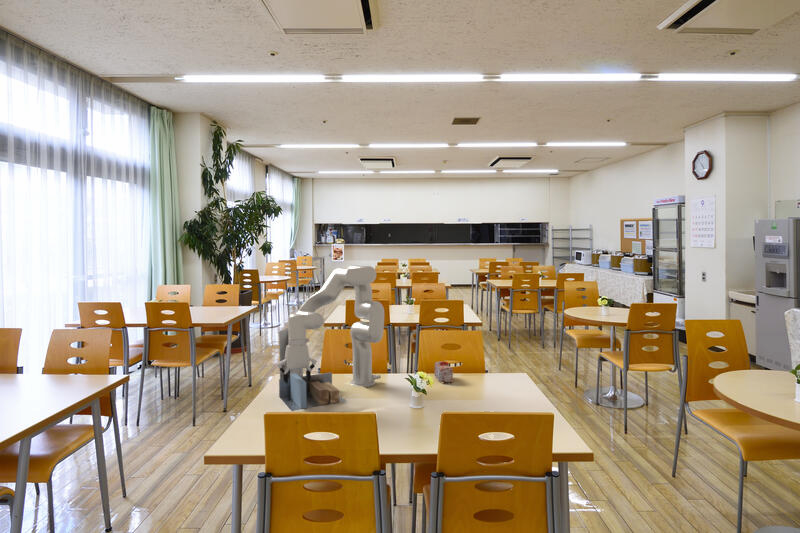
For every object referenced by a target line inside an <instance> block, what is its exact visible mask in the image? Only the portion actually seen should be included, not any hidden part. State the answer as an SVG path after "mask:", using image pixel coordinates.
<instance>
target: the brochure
mask: <svg viewBox="0 0 800 533" xmlns="http://www.w3.org/2000/svg"><path fill="white" fill-rule="evenodd" d="M278 342H279V343H278V344H279V346H278V348H279V351H278V352H279V362H281V361H283V360H284V359H285V351H286V346H287V345H288V327H287V328H284V329H281V330H279V331H278ZM281 367H282V368H283V369H284V368H285V365H284V364H283V365H282V366H281ZM293 373H296V374H297V375H299V376H300V377H301V376H304V368H299V369H290V370H289V371H288V372H287V374H288V378H290V374H293ZM279 379H283V372H282V371H280V370H279Z"/></svg>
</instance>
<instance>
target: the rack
mask: <svg viewBox="0 0 800 533" xmlns="http://www.w3.org/2000/svg"><path fill="white" fill-rule="evenodd" d="M301 378H302V379H303V380H304V381H306V406H307V408H300V407H299V406H298V405H297V404H296V403H295V402H294V401H293V400H292V399H291V378H288V383H285V382H284V381H283V379H280V378H278V397H279V398H280V400H282V402H283V403H284V405H286V407H287V408H288V409H289V410H290V411H291V412H293V411H300V410H305V409H306V410H307V409H312V408H317V407H323V406H331V405H334V404H340V403H346V402H348V400H346V399H345V398H344V397H342V396H341V395H340V394H339V401H338V402H332V403H331V402H330V401H329V403H326V404H319V403H318V402H317V401H316V400H315V399H313V398H312V397H311V396H310V383H311V382H320V383H326V382H329V383H331V384H332V385H333V372H325V373H317V374H311V378H310V380H309V381H308V380H307V379H306V375H303V376H301Z"/></svg>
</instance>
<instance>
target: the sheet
mask: <svg viewBox="0 0 800 533" xmlns="http://www.w3.org/2000/svg"><path fill="white" fill-rule="evenodd" d="M290 378H291V399H292V400H293V401H294V402H295V403H296V404H297V405H298V406H299V407H300V408H306V409H308V408H307V406H306V381H304V380H303V379H302V378H301V377H300V376H299V375H297V374H296V373H293V374H290Z"/></svg>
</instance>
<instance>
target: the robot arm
mask: <svg viewBox="0 0 800 533" xmlns="http://www.w3.org/2000/svg"><path fill="white" fill-rule="evenodd" d="M376 279H377V270H376V269H375V268H374V267H373V266H371V265H350V266H348V267H338V268H335V269H334V270H333V271H332V272H331V273H330V275H329V277H328V278H327V280H326V281H325V283H324V284H323V285H322V287H321V288H320V290H318V291H317V292H315V294H313V295H311V296H310V297H309V298H307V299H306V300H305V301H304V302H303V303H302V305H301V306H300V307H299V309H298V310H297V312H296V313H291V314H289V315H288V324H287V325H288V327H287V328H288V345H287V346H286V351H285V359H284V360H283V361H281V362H280V361H279V362H278V363H277V364H276V366H277V369H278V370H279V372H280V371H282V372H283V381H284V382H285V383H288V374H287V372H288V371H289V370H290V369H299V368H303V369H306V370H305V376H306V379H307V380H308V381H309V380H310V378H311V375H312V374H311V372H312V370H313V369H314V368H315V365H316V364H317V362H318V361H317V360H316V359H314V358H313V357H310V353H309V345H308V344H307V343H309V342H310V339H309V338H307V330H319V329H320V328H321V327H322V326H323V325H324V324H325V319H324V317H323V314H320V313H319V312H316V311H317V310H318V309H320V308H322V307H324V306H328V305H330V304H332V303H334V302H336V301H337V299H338V297H339V295H340V294H341V292H342V291H343V290H344V288H345V287H353V288H354V292H355V294H354V295H355V296H354V316H355V317H356V318H358V319H361V320H368V321H356V322H354V323H353V324H352V325H351V327H350V330H349V331H350V332H349V333H350V338H351V344H352V345H351V346H352V380H350V382H349V384H350V385H351V386H356V387H364V388H370V387H372V386H374V385H375V383H376V381H375V380H379V379H381V374H373V372H372V370H373V368H372V366H373V365H372V364H373V359H372V358H373V356H372V354H373V352H372V344H376V343H379V342H381V341H382V339H383V336H384V329H385V328H384V326H385V308H384V306H383V304H382V303H381V302H380V301H378V300H377V301H376V300H373V289H372V285H371V284H372V283H374V281H375V280H376ZM371 343H372V344H371ZM310 362H311V364H310ZM283 364H284V365H285V368H284V369H283V368H282V367H281V366H282V365H283Z"/></svg>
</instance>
